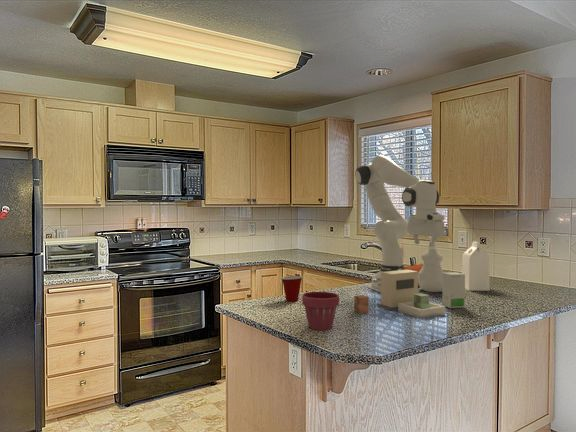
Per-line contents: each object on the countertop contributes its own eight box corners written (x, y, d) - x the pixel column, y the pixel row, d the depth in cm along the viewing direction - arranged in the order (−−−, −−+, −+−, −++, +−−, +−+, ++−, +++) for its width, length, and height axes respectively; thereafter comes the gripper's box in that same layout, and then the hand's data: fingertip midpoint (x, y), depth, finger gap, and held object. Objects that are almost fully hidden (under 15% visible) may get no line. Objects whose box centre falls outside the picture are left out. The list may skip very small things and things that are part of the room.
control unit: (377, 306, 215) (377, 271, 215) (406, 302, 224) (406, 268, 223) (391, 310, 207) (391, 274, 206) (421, 306, 215) (421, 271, 215)
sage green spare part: (413, 310, 204) (413, 294, 204) (421, 308, 206) (421, 293, 206) (421, 312, 200) (421, 296, 200) (428, 311, 202) (428, 295, 202)
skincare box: (449, 308, 211) (450, 274, 210) (441, 305, 217) (441, 272, 217) (465, 307, 213) (465, 273, 213) (456, 304, 220) (457, 271, 219)
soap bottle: (451, 292, 248) (452, 237, 247) (438, 294, 241) (439, 238, 240) (425, 287, 261) (425, 235, 260) (412, 289, 254) (412, 236, 253)
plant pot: (336, 322, 188) (336, 290, 187) (341, 332, 174) (341, 298, 173) (301, 322, 187) (301, 291, 187) (303, 332, 173) (303, 298, 173)
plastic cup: (290, 297, 236) (290, 273, 235) (307, 300, 229) (307, 276, 228) (276, 300, 227) (276, 276, 227) (293, 303, 220) (293, 278, 220)
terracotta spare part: (354, 311, 206) (354, 295, 206) (362, 310, 208) (362, 294, 208) (360, 313, 202) (360, 297, 202) (368, 312, 204) (368, 296, 204)
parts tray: (398, 311, 206) (398, 303, 206) (421, 307, 212) (421, 300, 212) (421, 318, 194) (421, 310, 193) (445, 314, 200) (445, 306, 200)
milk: (489, 290, 252) (490, 243, 251) (468, 290, 253) (469, 243, 252) (481, 286, 264) (481, 241, 263) (460, 286, 265) (461, 241, 264)
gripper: (404, 213, 220) (403, 242, 221) (437, 217, 202) (435, 248, 203) (414, 213, 223) (413, 242, 224) (447, 216, 205) (446, 247, 206)
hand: (424, 245), depth 213 cm, fingers open, 8 cm apart
